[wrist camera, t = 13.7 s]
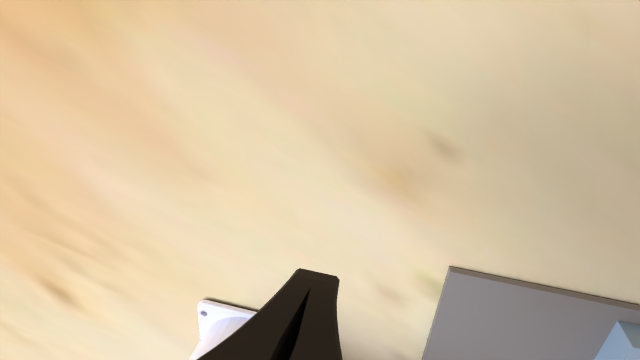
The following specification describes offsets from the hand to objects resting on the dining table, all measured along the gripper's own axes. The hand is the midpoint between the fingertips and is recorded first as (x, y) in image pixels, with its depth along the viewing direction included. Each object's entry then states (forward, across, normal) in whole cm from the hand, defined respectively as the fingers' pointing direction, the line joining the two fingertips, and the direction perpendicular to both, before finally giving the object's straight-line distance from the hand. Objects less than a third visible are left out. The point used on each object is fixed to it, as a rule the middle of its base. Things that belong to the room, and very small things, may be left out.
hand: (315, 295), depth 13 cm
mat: (+10, -14, +10) cm, 20 cm away
